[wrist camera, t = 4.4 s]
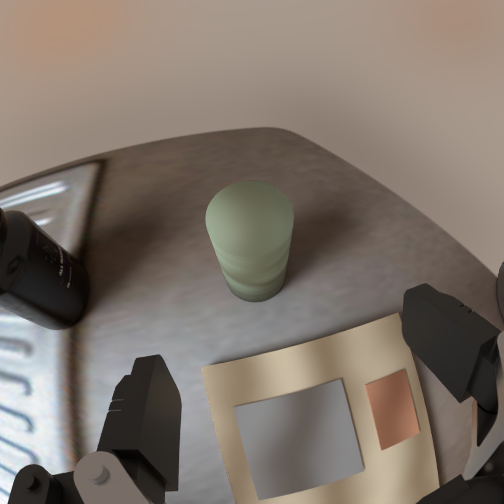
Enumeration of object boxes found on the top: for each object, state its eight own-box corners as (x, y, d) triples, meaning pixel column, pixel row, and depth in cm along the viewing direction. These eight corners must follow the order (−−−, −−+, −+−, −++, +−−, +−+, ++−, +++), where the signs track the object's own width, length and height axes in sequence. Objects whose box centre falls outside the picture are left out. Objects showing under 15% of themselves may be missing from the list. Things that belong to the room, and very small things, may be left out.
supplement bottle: (105, 280, 22) (11, 198, 11) (66, 347, 20) (-46, 302, 9) (62, 247, 24) (-17, 171, 13) (27, 305, 21) (-64, 250, 11)
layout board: (391, 316, 20) (399, 311, 18) (436, 551, 9) (443, 556, 8) (204, 368, 19) (200, 366, 18) (279, 605, 8) (279, 614, 7)
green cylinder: (276, 241, 23) (279, 173, 16) (292, 293, 21) (305, 242, 14) (220, 254, 23) (200, 190, 15) (232, 308, 21) (213, 264, 13)
